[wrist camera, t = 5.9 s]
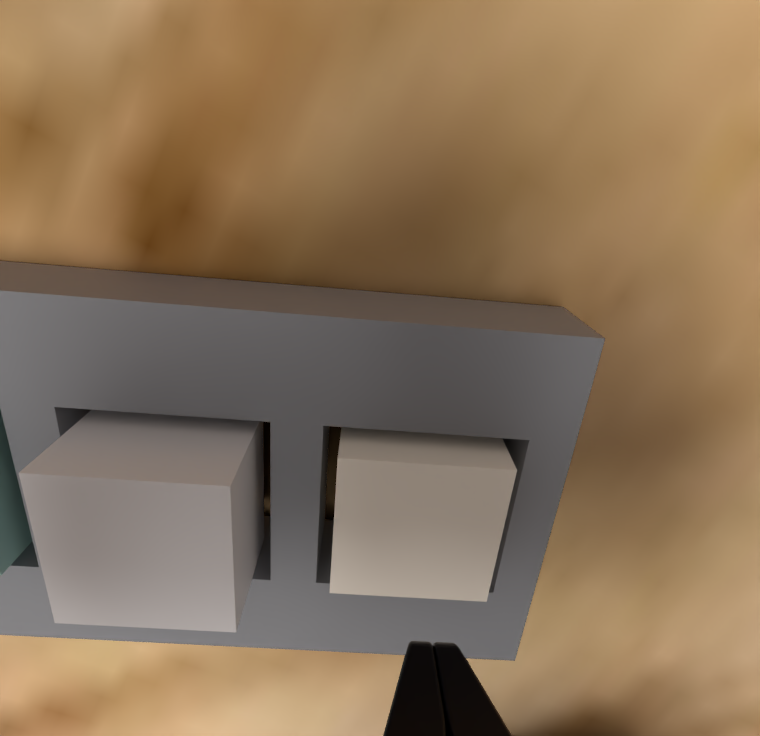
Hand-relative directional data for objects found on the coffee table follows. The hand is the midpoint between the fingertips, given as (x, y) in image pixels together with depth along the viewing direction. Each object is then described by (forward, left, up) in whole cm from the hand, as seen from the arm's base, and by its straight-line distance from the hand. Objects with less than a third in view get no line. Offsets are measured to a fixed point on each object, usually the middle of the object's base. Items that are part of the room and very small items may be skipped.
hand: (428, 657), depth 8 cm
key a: (0, 0, -6) cm, 6 cm away
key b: (+6, 0, -5) cm, 8 cm away
